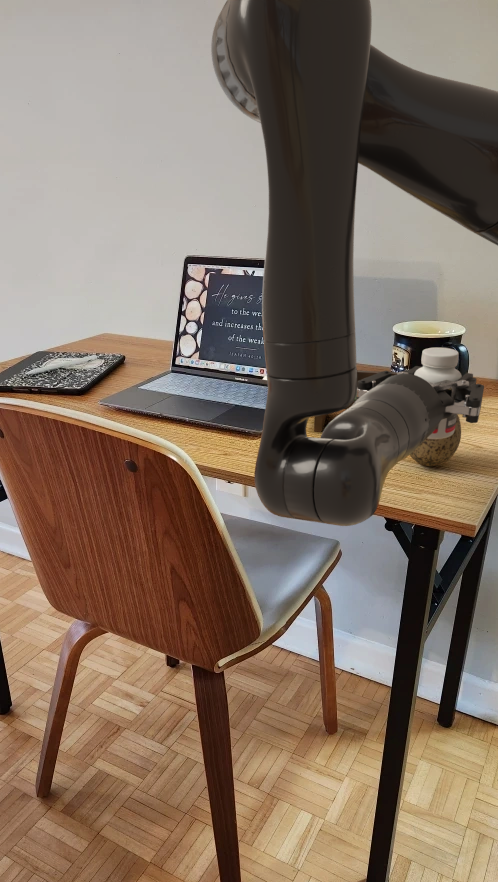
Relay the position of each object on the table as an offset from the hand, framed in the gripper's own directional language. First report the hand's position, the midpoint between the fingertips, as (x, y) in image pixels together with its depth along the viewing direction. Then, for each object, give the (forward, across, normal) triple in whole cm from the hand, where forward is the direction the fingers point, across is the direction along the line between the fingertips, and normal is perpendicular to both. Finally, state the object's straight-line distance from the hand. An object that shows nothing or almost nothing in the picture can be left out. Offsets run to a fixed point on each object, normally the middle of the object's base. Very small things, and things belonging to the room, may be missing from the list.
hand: (443, 378), depth 82 cm
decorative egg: (+5, +2, +14) cm, 15 cm away
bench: (+14, +16, +14) cm, 25 cm away
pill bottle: (-3, 0, +6) cm, 7 cm away
